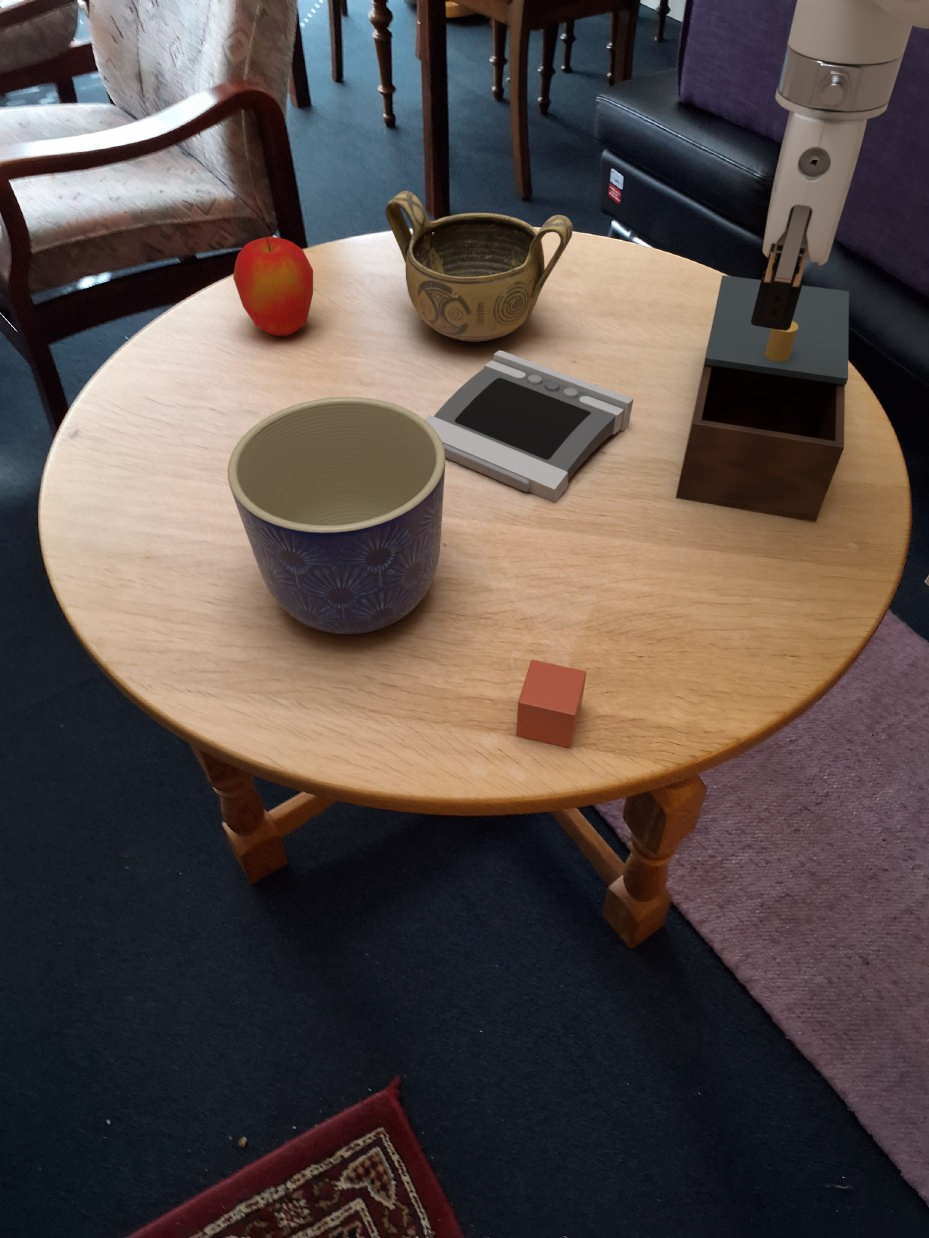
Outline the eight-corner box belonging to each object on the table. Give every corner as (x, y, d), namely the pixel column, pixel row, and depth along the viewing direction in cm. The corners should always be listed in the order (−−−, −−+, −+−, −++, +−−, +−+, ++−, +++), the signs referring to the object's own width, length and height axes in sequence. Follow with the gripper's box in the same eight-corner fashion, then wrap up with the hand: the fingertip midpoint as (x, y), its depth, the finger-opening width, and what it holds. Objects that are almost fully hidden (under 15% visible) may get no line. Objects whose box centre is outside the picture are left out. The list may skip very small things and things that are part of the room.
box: (820, 419, 98) (845, 346, 92) (815, 522, 87) (844, 447, 80) (695, 400, 101) (711, 327, 94) (675, 497, 90) (691, 423, 83)
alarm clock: (633, 398, 95) (555, 468, 86) (626, 436, 99) (550, 507, 89) (499, 350, 102) (413, 409, 92) (497, 386, 105) (413, 447, 96)
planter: (377, 506, 89) (363, 372, 78) (487, 601, 80) (489, 466, 69) (226, 584, 82) (187, 449, 71) (329, 697, 73) (303, 564, 62)
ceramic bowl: (582, 314, 114) (594, 194, 103) (535, 383, 104) (542, 258, 92) (424, 281, 120) (419, 164, 109) (364, 343, 110) (352, 221, 98)
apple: (239, 350, 109) (218, 254, 100) (253, 312, 115) (234, 218, 106) (315, 350, 109) (301, 254, 100) (325, 312, 115) (312, 219, 106)
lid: (846, 298, 98) (858, 261, 95) (845, 385, 87) (859, 347, 84) (720, 281, 101) (728, 246, 98) (703, 364, 89) (712, 327, 86)
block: (581, 705, 73) (586, 671, 69) (570, 748, 70) (575, 715, 66) (528, 693, 73) (531, 658, 70) (515, 735, 71) (517, 702, 67)
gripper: (889, 123, 56) (808, 379, 69) (897, 51, 65) (824, 289, 79) (767, 109, 57) (710, 361, 71) (792, 41, 67) (738, 275, 80)
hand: (770, 323), depth 75 cm, fingers closed
